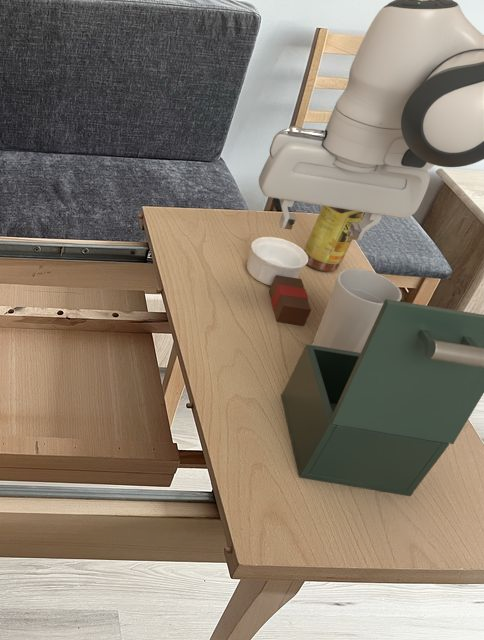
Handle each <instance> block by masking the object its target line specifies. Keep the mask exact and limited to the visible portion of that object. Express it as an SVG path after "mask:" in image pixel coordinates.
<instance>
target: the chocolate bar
mask: <svg viewBox="0 0 484 640" xmlns="http://www.w3.org/2000/svg"><path fill="white" fill-rule="evenodd" d="M269 287H270V288H269V290H268V292H269V296H270V302H271V306H272V310H273V312H274V317H275V320H276V322H277V323H284V324H289V325H296V326H302V327H304V326H305V324H306V322H307V320H308V318H309V315H310V314H311V312H312V308H311V305H310V301H309V297H308V294H307V290H306V288H305V286H304V283H303V280H302V278H299V277H298V278H292V277H285V276H279V275H275V277H274V280H273V282H272V285H271V286H269Z"/></svg>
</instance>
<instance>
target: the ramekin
mask: <svg viewBox="0 0 484 640" xmlns="http://www.w3.org/2000/svg"><path fill="white" fill-rule="evenodd" d="M304 250H305V249H303V248H302V247H300V246H299V245H298V244H295V243H294V242H291V241H289V240H287V239H284V238H280V237H277V236H275V237H274V236H262V237H261V236H260V237H258V238H257V237H256V238H255V239H254V240H253V241H252V242H251V244H250V252H249V255H248V259H247V263H246V269H247V272H248V274H249V275H250V276H251V277H252V278H253V279H255V280H256V281H258V282H260V283H261V284H263V285H266V286H269V287H271V285H272V282H273V280H274V277H275V275H279V276H285V277H292V278H298V279H299V276H300V274H301V273H302V271H303V269H304V268H305V267H306V265H307V263H308V256H307V254H306V252H305V251H304Z"/></svg>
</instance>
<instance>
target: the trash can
mask: <svg viewBox="0 0 484 640" xmlns="http://www.w3.org/2000/svg"><path fill="white" fill-rule="evenodd" d="M360 354H361V353H358V352H352V351H346V350H340V349H333V348H327V347H321V346H315V345H313V346H312V344H305V346H304V348H303V350H302V352H301V354H300V356H299V358H298V360H297V363H296V365H295V367H294V369H293V371H292V372H291V375H290V377H289V379H288V381H287V383H286V384H285V387H284V389H283V391H282V394H281V395H280V396H281V401H282V406H283V411H284V415H285V419H286V422H287V423H286V424H287V429H288V432H289V437H290V442H291V447H292V450H293V455H294V459H295V464H296V468H297V473H298V477H299V478H301V479H307V480H313V481H318V482H324V483H329V484H335V485H343V486H347V487H353V488H359V489H360V488H361V489H365V490H372V491H378V492H384V493H389V494H394V495H395V494H396V495H401V496H407V497H412V495H413V494H414V493H415V491H416V489H417V488H418V487H419V485H421V483H422V482H423V480H424V479H425V478H426V476H427V475H428V474H429V472H430V471H431V470H432V468H433V467H434V466H435V464H436V463H437V462H438V460H439V459H440V458H441V456H442V455H443V454H444V452H445V451H446V450H447V448H448V447H449V446H450V443H444V442H438V441H432V440H426V439H420V438H414V437H408V436H402V435H396V434H390V433H384V432H378V431H372V430H366V429H360V428H354V427H348V426H342V425H336V424H332V423H331V420H330V419H331V417H332V414H333V412H334V410H335V408H336V406H337V404H338V401H339V399H340V397H341V395H342V393H343V391H344V388H345V386H346V384H347V382H348V380H349V377H350V375H351V373H352V371H353V369H354V367H355V364H356V362H357V360H358V358H359V356H360Z"/></svg>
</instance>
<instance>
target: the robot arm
mask: <svg viewBox="0 0 484 640" xmlns="http://www.w3.org/2000/svg"><path fill="white" fill-rule="evenodd" d="M331 112H332V113H331V114H330V117H329V118H328V122H327V124H326V127H325V129H323V130H322V129H316V128H303V127H301V126H297V125H293V126H292V125H291V126H289V127H288V128H284V129H281V130H279V131H278V132H276V133H275V135H274V136H273V137H272V141H271V144H270V146H269V155H268V157H267V159H266V161H265V163H264V165H263V167H262V169H261V172H260V174H259V176H258V185H259V189H260V191H261V193H262V194H263V196H264V197H267V198H273V199H278V200H279V204H280V207H281V212H282V213H281V216H280V217H279V221H278V225H279V228H280V229H283V230H292V229H293V225H295V223H296V216H295V214H294V213H293V212H290V211H289V208H292V207H294V204H295V202H298V203H304V204H310V205H317V206H322V207H323V206H328V207H335V208H341V209H347V210H354V211H360V212H366V213H365V214H366V215H365V216H364V217H363V219H362V220H361V221H360V222H359V223H351V225H350V229H349V230H348V232H347V236H348V238H349V239H352V241H357V242H358V241H359V242H360V241H362V239H363V237H364V235H365V233H366V232H367V231H369V230H370V229H371V228H373V227H374V226H376V225H377V224H378V223H380V222H381V220H382V218H383V216H384V217H385V216H386V217H393V218H397V219H408V218H409V217H410V216H412V215H414V214H415V213H416V212H417V211H418V210H419V208H420V206H421V203H422V201H423V200H424V197H425V195H426V192H427V190H428V188H429V185H430V182H431V181H430V179H431V177H430V176H431V175H430V173H429V170H431V169H433V168H434V166H437V167H442V168H460V167H467V166H471V165H473V164H476V163H479V162H481V161H483V160H484V34H483V33H482V32H481V31H480V30H479V29H477V27H475V26H474V25H473V24H472V22H470V20H469V19H468V18H467V17H466V15H465V13H463V11H462V9H461V6H460V5H459V3H458V2H457V1H454V0H393V1H390V2H389V3H387V4H386V5H384V6H383V7H382V8H380V10H379V11H378V12H377V14H376V15H375V16H374V18H373V20H372V22H371V23H370V25H369V27H368V29H367V31H366V32H365V34H364V37H363V39H362V41H361V43H360V44H359V47H358V49H357V52H356V53H355V56H354V58H353V60H352V63H351V65H350V68H349V75H348V81H347V84H346V86H345V88H344V91H343V92H342V93H341V95H340V96H339V98H337V100H336V102H335V105H334V107H333V109H332V111H331Z"/></svg>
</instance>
